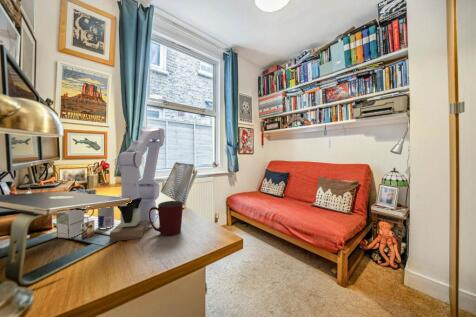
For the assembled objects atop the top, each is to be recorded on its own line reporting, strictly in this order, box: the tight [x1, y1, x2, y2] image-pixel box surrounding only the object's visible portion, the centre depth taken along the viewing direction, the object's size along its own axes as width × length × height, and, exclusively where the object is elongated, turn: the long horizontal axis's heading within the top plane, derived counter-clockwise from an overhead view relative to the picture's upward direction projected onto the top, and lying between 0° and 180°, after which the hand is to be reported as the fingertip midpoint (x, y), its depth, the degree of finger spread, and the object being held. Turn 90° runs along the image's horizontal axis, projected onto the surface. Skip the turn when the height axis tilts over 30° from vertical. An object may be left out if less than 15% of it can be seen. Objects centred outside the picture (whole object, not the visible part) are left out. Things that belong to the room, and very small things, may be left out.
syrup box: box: [55, 210, 85, 240], centre depth 69 cm, size 6×6×14 cm
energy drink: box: [97, 206, 115, 229], centre depth 77 cm, size 5×5×12 cm
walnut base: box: [109, 220, 150, 242], centre depth 71 cm, size 10×10×3 cm
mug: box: [149, 200, 184, 237], centre depth 71 cm, size 12×9×11 cm
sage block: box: [120, 208, 140, 227], centre depth 70 cm, size 5×5×5 cm
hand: (130, 220), depth 70 cm, fingers closed on sage block, 5 cm apart
